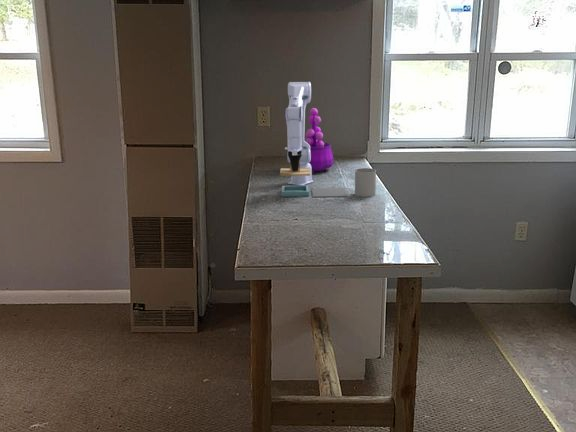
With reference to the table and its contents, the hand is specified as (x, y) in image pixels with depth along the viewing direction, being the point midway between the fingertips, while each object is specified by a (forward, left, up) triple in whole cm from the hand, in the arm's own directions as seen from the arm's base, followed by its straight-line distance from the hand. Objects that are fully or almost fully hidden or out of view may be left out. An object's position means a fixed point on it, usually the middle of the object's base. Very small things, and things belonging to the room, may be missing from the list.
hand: (295, 169), depth 252 cm
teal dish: (0, 0, -10) cm, 10 cm away
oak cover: (0, 0, -1) cm, 1 cm away
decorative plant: (-43, -19, -10) cm, 48 cm away
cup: (-14, +25, -10) cm, 30 cm away
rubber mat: (-8, +12, -10) cm, 17 cm away
